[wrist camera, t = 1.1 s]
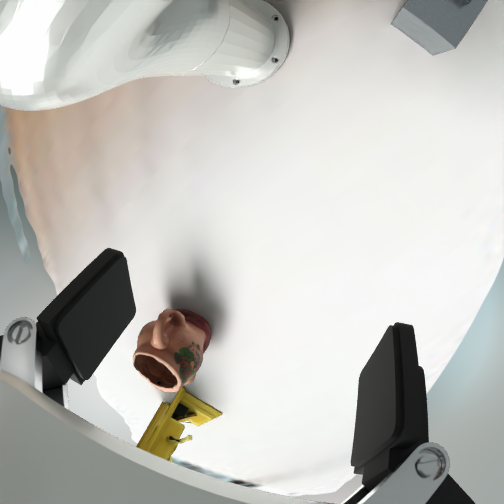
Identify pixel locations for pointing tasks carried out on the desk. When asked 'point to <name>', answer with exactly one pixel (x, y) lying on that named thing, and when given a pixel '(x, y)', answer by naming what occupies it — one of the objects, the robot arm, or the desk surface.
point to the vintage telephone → (174, 424)
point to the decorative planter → (172, 349)
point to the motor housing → (437, 22)
